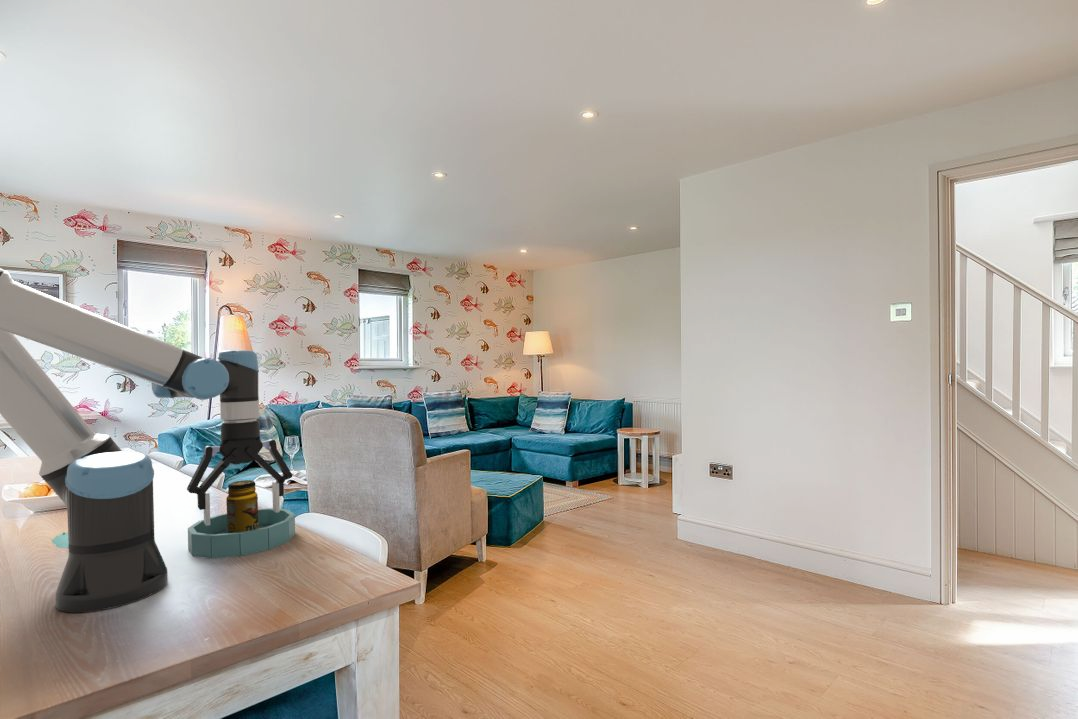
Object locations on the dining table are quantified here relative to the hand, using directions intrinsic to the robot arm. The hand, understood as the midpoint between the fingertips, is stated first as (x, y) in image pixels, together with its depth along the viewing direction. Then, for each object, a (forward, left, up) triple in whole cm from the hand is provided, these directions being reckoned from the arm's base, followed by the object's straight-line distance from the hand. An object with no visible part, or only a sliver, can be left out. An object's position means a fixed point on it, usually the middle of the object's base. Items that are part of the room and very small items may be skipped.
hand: (243, 517), depth 120 cm
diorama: (+32, +27, -6) cm, 42 cm away
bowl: (0, 0, -5) cm, 5 cm away
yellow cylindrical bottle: (0, +1, -4) cm, 5 cm away
